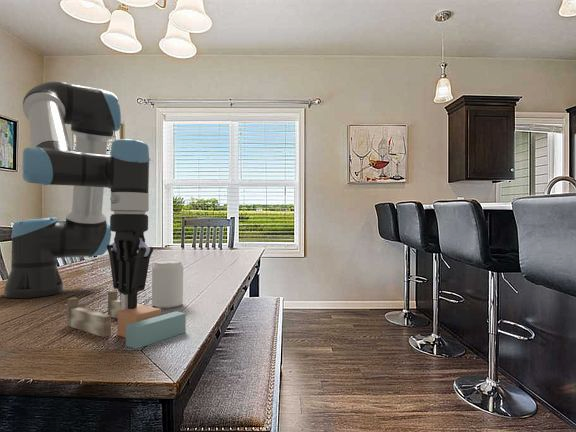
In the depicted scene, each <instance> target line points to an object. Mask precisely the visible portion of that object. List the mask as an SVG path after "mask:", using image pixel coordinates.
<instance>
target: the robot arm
mask: <svg viewBox="0 0 576 432" xmlns="http://www.w3.org/2000/svg"><path fill="white" fill-rule="evenodd" d="M22 110H23V114H24V116H25V118H26V119H27V120H28V123H29V132H30V133H29V134H30V140H31V141H30V142H31V146H28V147H25V148H24V149H23V150H22V178H23V180H24V181H25V182H27V183H30V184H38V185H39V184H40V185H43V186H50V185H51V186H71V187H72V186H73V188H72V189H73V190H72V191H73V192H72V206H71V207H72V208H71V212H69V213H68V214H66V216H65V221H59V219H58V217H57V216H55V217H54V216H53V217H42V218H40V217H39V218H33V219H31V218H30V219H22V220H18V221H15V222H13V224H12V227H11V228H12V229H11V235H10V239H11V259H10V260H11V266H10V267H11V268H10V272H9V275H8V276H7V277H8V278H7V280H6V282H5V285H4V288H3V297H4V298H8V299H29V298H30V299H31V298H40V297H48V296H53V295H56V294H59V293H63V291H64V282H63V279H62V277H61V274H60V271H59V269H58V259H64V258H83V257H84V258H86V257H87V258H88V257H89V258H91V257H97V256H102V255H104V254H105V253H106V252H108V255H109V256H108V257H109V263H110V269H111V271H110V272H111V279H112V286H113V290H114V289H115V290H116V289H117V292H118V293H119V295H120V297H119V300H120V306H121V310H123V309H133V308H137V304H138V293H139V292H141V291H144V290H145V288H146V283H147V277H148V270H149V265H150V258H151V256H152V254H153V252H154V248H153V246H148V245H147V244H146V238H145V232H147V231H148V230H149V216H148V214H146V213H147V212H149V209H150V207H149V206H150V205H149V203H150V201H149V200H150V199H149V197H150V196H149V189H150V187H149V186H150V185H149V181H150V179H149V177H150V161H151V157H150V152H149V151H150V150H149V149H150V148H149V145H148V143H146V142H143V141H141V140H135V139H128V138H121V139H115V140H113V141H112V142H111V145H110V152H109V154H107V152H108V151H107V148H108V141H109V140H111V139H113V138H114V132H118V131H120V129H121V123H122V115H121V114H122V113H121V106H120V102H119V99H118V97H117V96H116V94H114V93H113V92H111V91H107V90H103V89H101V88H94V87H89V86H83V85H79V84H73V83H67V82H64V81H47V82H42V83H40V84H37V85H35V86H34V87H32V88H31V89H29V90H28V91H27V93H26V94H25V95H24V97H23V100H22ZM65 124H66V125H71V126H70V132H72V134H73V135H74V136H75V138H76V139H75V151H74V150H73V151H72V148H71V144H70V140H69V136H68V132H67V129H66V128H67V127H66V125H65ZM105 188H108V189H110V198H109V200H110V211H111V212H113V213H112V214H111V215H110V216H109V217H110V218H109V221H107V216H106V215H105V214H103V204H104V202H103V201H104V199H103V198H104V189H105ZM111 232H114V233H115V234H114V238H113V242H112V243H111V238H112V233H111ZM110 243H111V244H110Z"/></svg>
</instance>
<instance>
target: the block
mask: <svg viewBox="0 0 576 432" xmlns="http://www.w3.org/2000/svg"><path fill="white" fill-rule="evenodd" d="M161 309H162V308H157V307H155V306H150V307H149V305H146V306H145V304H141V306H137V308H133V309H123V310H119V311H118V319H117V326H116V327H117V331H116V335H117V336H119V337H123V338H126V325H127V324H131V323H135V322H138V321H142V320H146V319H149V318H153V317H157V316H160V315H162V313H161V312H162V310H161Z"/></svg>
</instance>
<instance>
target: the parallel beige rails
mask: <svg viewBox="0 0 576 432" xmlns="http://www.w3.org/2000/svg"><path fill="white" fill-rule="evenodd" d="M141 305H142V304H140V303H137V306H141ZM144 305H145V304H144ZM145 306H147V305H145ZM148 306H149V305H148ZM149 307H151V306H149ZM119 310H121V306H120V298H119V299H118V290H114V289H113V290H108V291H107V314H106V313H103V312H98V311H93V310H90V309H86V308H83V307H79V297H69V298H67V317H66V318H67V321H66V322H67V327H71V328H74V329H77V330H81V331H82V332H86V333H89V334H93V335H96V336H99V337H101V338H107V337H110V336H111V335H112V318H114V319H117V320H118V311H119Z"/></svg>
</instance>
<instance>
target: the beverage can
mask: <svg viewBox="0 0 576 432" xmlns="http://www.w3.org/2000/svg"><path fill="white" fill-rule="evenodd" d="M182 304H184V264H183V263H182V260H176V259H173V260H171V259H166V260H164V259H163V260H157V261H154V262H153V265H152V269H151V305H152V307H155V308H159V309H171V308H177V307H179V306H180V305H182Z"/></svg>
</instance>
